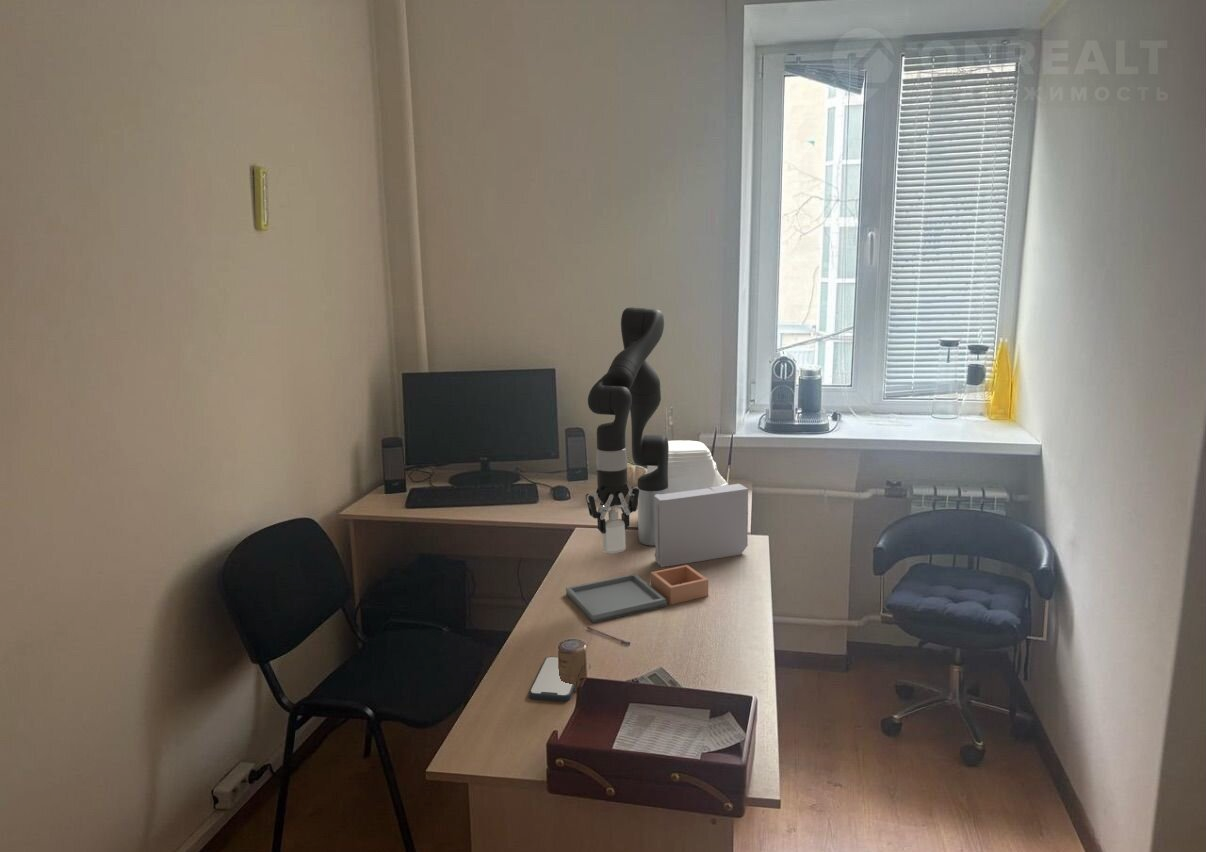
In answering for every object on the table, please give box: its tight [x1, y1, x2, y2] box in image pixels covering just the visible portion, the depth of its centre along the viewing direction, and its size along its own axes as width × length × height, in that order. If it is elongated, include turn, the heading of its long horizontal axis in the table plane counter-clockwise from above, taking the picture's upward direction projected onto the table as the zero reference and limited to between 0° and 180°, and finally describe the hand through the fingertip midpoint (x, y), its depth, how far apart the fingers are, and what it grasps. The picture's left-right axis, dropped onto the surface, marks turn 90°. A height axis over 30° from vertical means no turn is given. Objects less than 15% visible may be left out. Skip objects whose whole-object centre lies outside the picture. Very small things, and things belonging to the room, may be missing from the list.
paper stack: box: [646, 439, 729, 493], centre depth 257 cm, size 21×27×26 cm
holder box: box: [650, 564, 709, 605], centre depth 207 cm, size 11×11×4 cm
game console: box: [654, 483, 749, 568], centre depth 228 cm, size 6×27×20 cm, turn 108°
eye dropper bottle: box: [602, 505, 626, 554], centre depth 199 cm, size 4×6×12 cm
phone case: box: [528, 656, 576, 703], centre depth 167 cm, size 9×2×16 cm
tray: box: [565, 573, 667, 624], centre depth 204 cm, size 18×20×2 cm
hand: (613, 530), depth 200 cm, fingers closed on eye dropper bottle, 5 cm apart
